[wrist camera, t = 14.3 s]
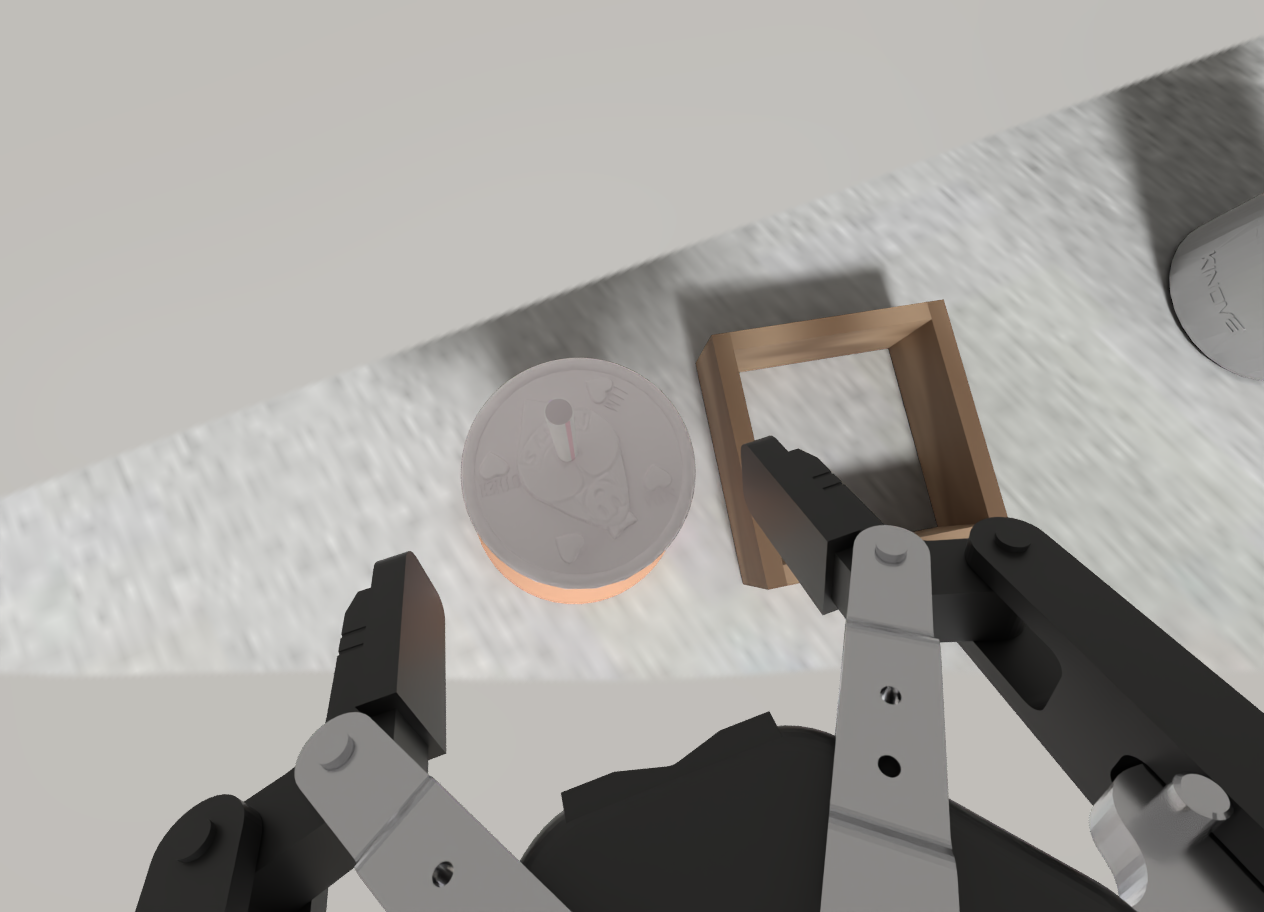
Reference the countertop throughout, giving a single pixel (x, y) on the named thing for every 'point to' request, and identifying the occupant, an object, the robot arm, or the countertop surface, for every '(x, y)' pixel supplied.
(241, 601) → the countertop surface
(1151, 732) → the robot arm
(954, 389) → the crate
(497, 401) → the smoothie
